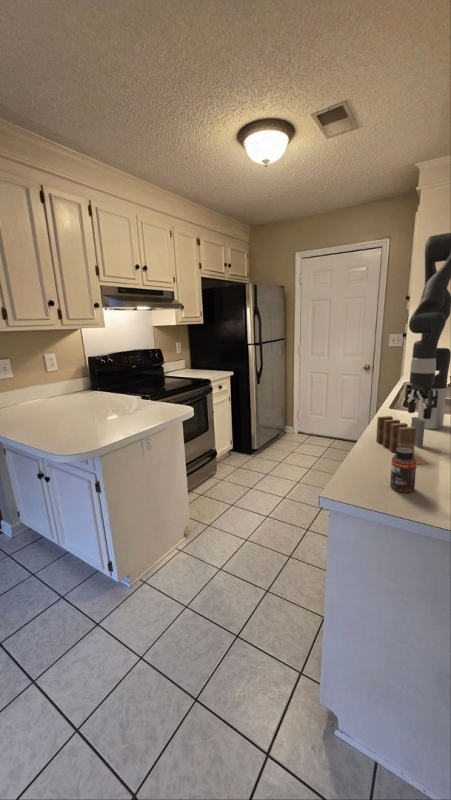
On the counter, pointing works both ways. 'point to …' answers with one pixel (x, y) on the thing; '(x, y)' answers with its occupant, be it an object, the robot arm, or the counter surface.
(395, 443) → the domino
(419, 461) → the end pad
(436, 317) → the robot arm
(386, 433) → the domino
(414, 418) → the domino
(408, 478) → the supplement bottle
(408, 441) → the domino
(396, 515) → the counter surface
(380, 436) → the domino
